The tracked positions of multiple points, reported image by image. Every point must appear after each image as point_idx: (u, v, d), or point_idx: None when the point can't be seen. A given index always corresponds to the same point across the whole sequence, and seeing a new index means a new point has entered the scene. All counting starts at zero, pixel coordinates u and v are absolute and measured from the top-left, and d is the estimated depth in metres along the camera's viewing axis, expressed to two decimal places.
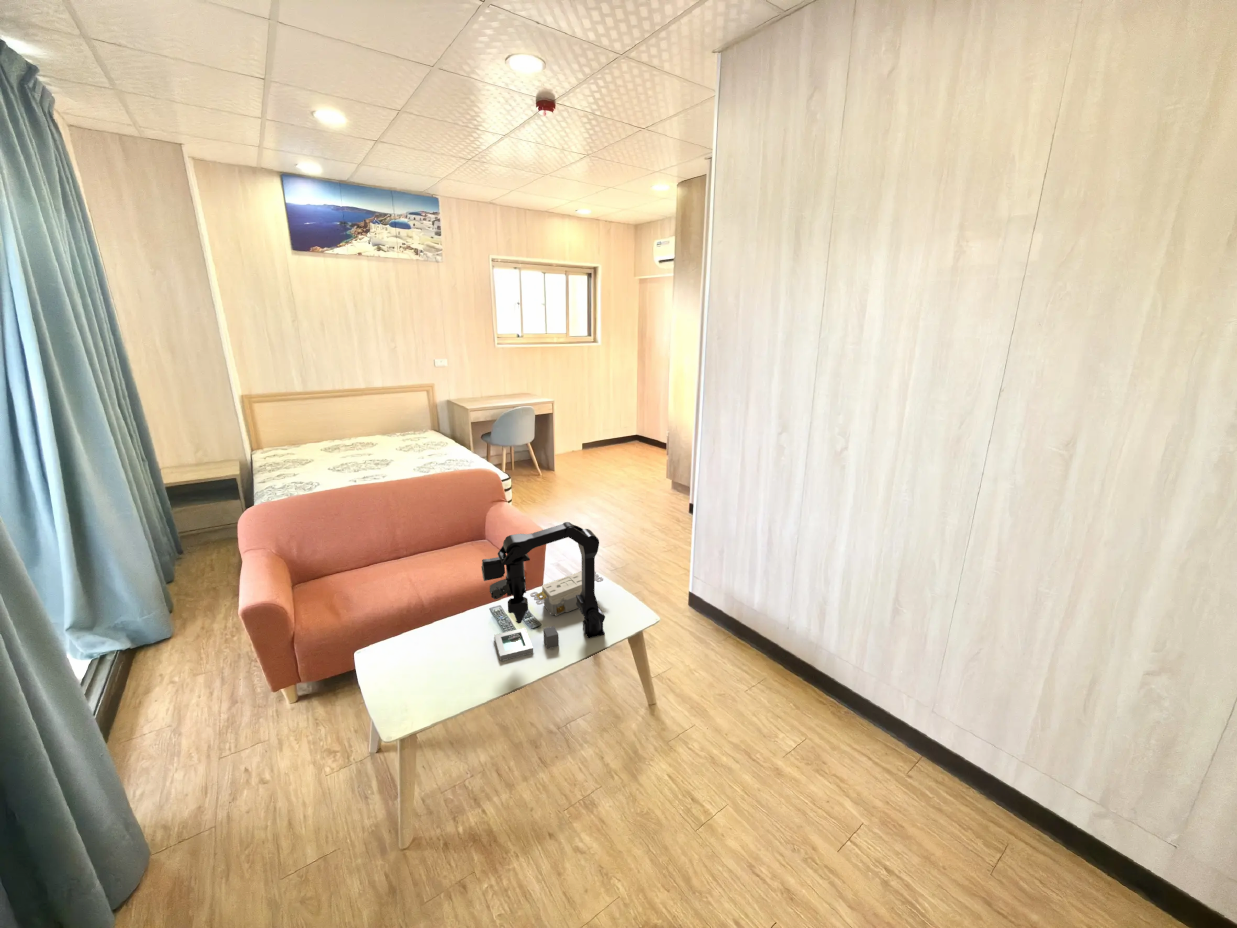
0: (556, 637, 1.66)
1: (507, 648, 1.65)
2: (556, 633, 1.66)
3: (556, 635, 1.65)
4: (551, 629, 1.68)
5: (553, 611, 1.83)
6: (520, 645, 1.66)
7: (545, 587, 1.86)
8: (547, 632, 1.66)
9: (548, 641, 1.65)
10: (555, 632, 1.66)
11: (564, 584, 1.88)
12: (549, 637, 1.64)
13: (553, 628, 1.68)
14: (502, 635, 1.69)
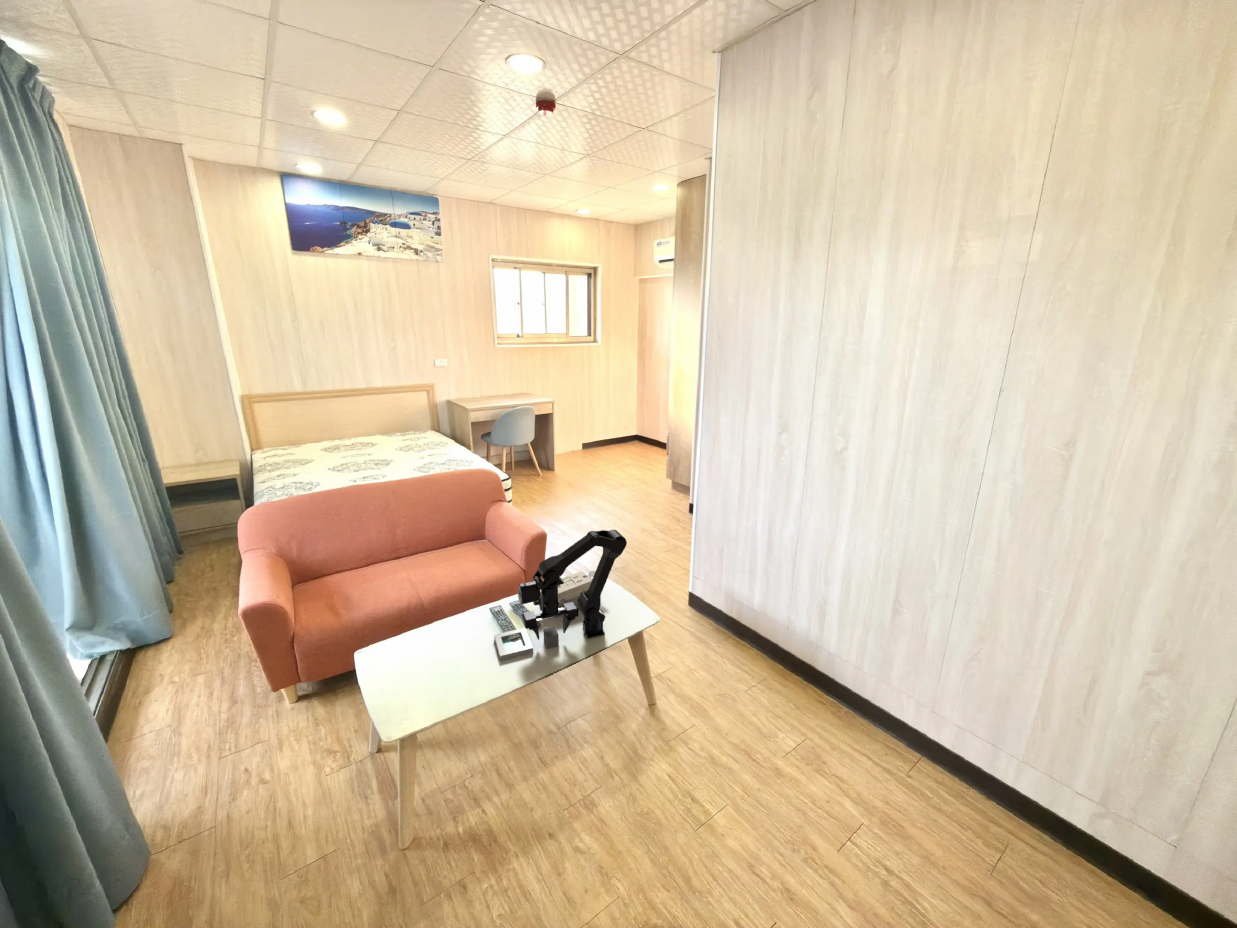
0: (556, 637, 1.66)
1: (507, 648, 1.65)
2: (556, 633, 1.66)
3: (556, 635, 1.65)
4: (551, 629, 1.68)
5: None
6: (520, 645, 1.66)
7: None
8: (547, 632, 1.66)
9: (548, 641, 1.65)
10: (555, 632, 1.66)
11: (564, 584, 1.88)
12: (549, 637, 1.64)
13: (553, 628, 1.68)
14: (502, 635, 1.69)
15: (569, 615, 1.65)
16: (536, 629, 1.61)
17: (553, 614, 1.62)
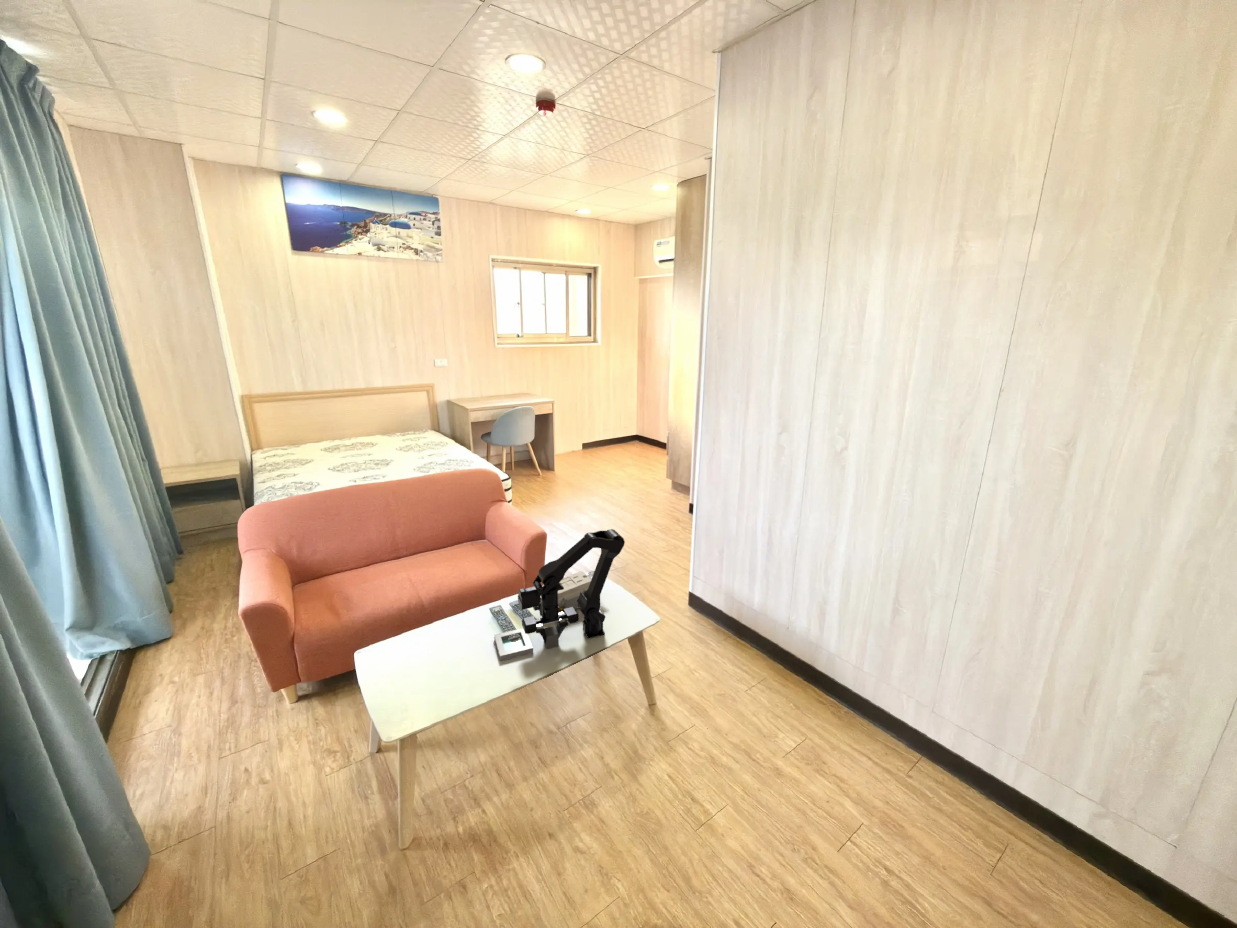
0: (556, 637, 1.66)
1: (507, 648, 1.65)
2: (556, 633, 1.66)
3: (556, 635, 1.65)
4: (551, 628, 1.68)
5: None
6: (520, 645, 1.66)
7: None
8: (547, 632, 1.66)
9: (548, 641, 1.65)
10: (555, 632, 1.66)
11: (564, 584, 1.88)
12: (549, 636, 1.64)
13: (553, 628, 1.68)
14: (502, 635, 1.69)
15: (569, 620, 1.65)
16: (543, 633, 1.63)
17: (553, 619, 1.63)
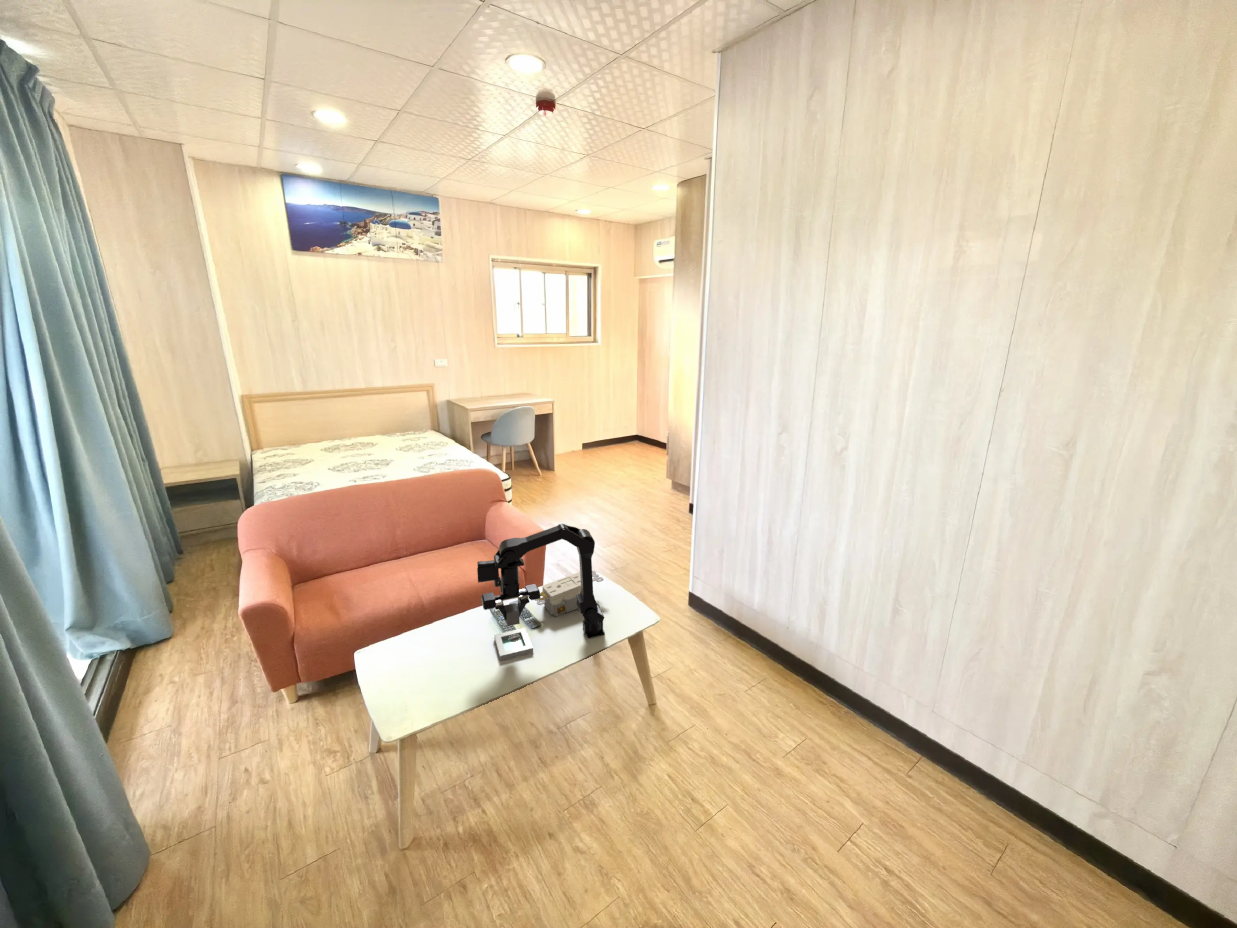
0: (516, 614, 1.61)
1: (507, 648, 1.65)
2: (517, 610, 1.61)
3: (517, 612, 1.61)
4: (512, 605, 1.63)
5: (554, 611, 1.82)
6: (520, 645, 1.66)
7: (545, 587, 1.86)
8: (507, 609, 1.61)
9: (508, 618, 1.60)
10: (516, 609, 1.62)
11: (564, 584, 1.88)
12: (510, 613, 1.60)
13: (514, 605, 1.64)
14: (502, 635, 1.69)
15: (530, 597, 1.60)
16: (503, 609, 1.58)
17: (513, 595, 1.58)
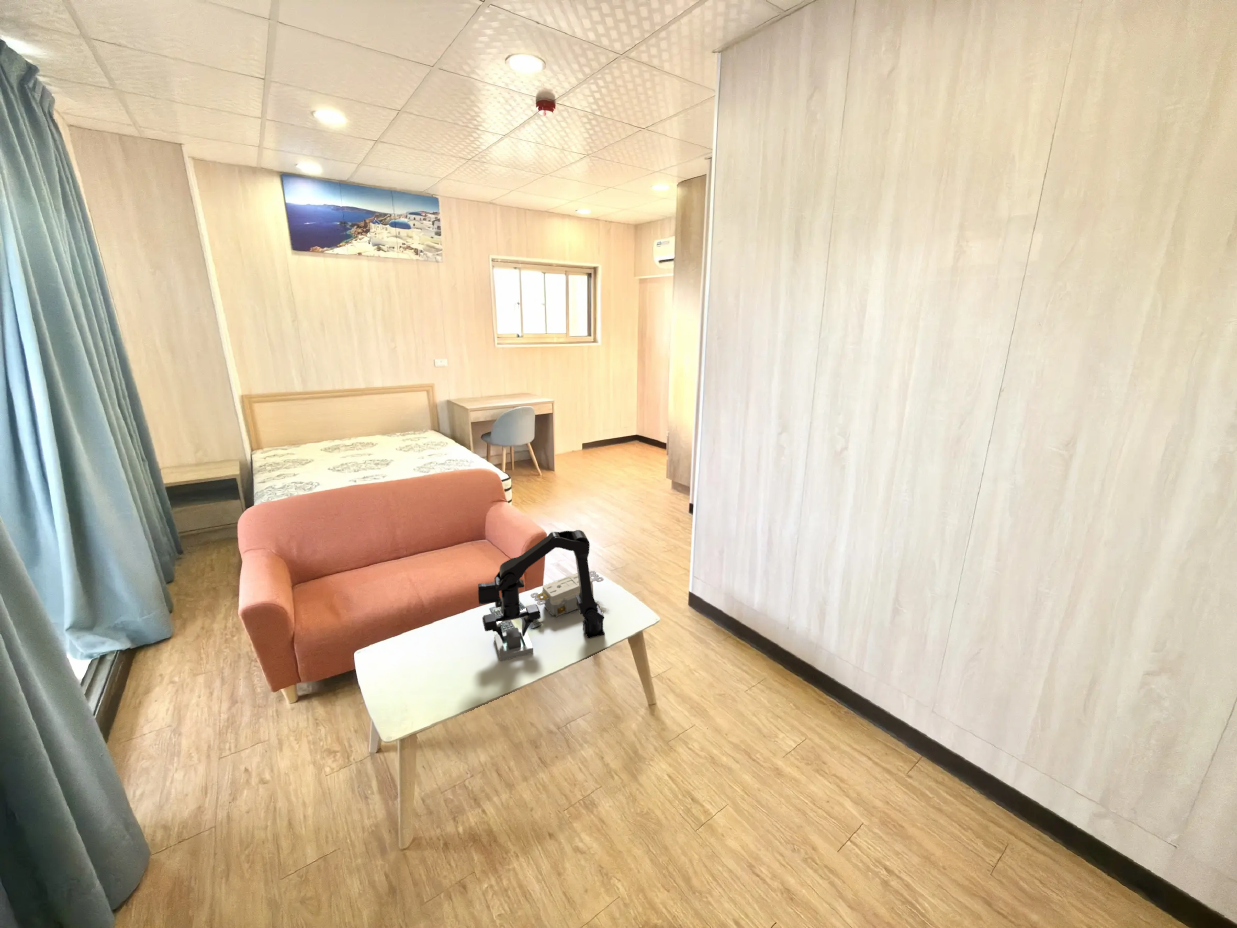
0: (518, 639, 1.64)
1: (507, 648, 1.65)
2: (518, 635, 1.64)
3: (518, 637, 1.64)
4: (513, 630, 1.66)
5: (554, 612, 1.82)
6: None
7: (546, 588, 1.86)
8: (509, 634, 1.64)
9: (510, 643, 1.63)
10: (517, 634, 1.65)
11: (564, 584, 1.88)
12: (511, 639, 1.63)
13: (516, 630, 1.67)
14: None
15: (530, 617, 1.63)
16: (500, 631, 1.60)
17: (514, 616, 1.60)
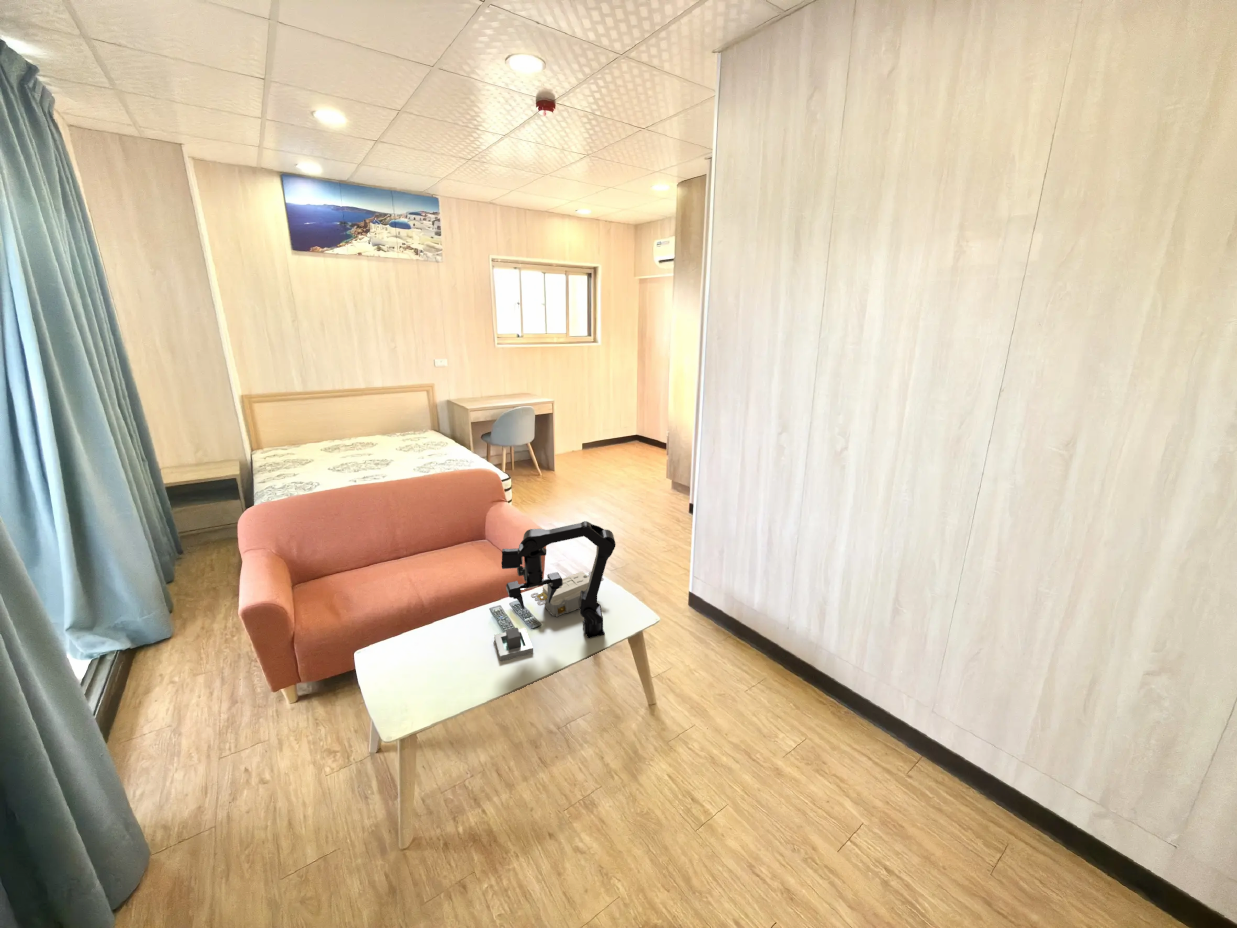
0: (518, 639, 1.64)
1: (507, 648, 1.65)
2: (518, 635, 1.64)
3: (518, 637, 1.64)
4: (513, 630, 1.66)
5: (554, 612, 1.82)
6: None
7: (546, 588, 1.86)
8: (509, 634, 1.64)
9: (510, 643, 1.63)
10: (517, 634, 1.65)
11: (565, 584, 1.88)
12: (511, 639, 1.63)
13: (516, 630, 1.67)
14: (502, 635, 1.69)
15: (553, 584, 1.66)
16: (520, 598, 1.63)
17: (537, 583, 1.64)
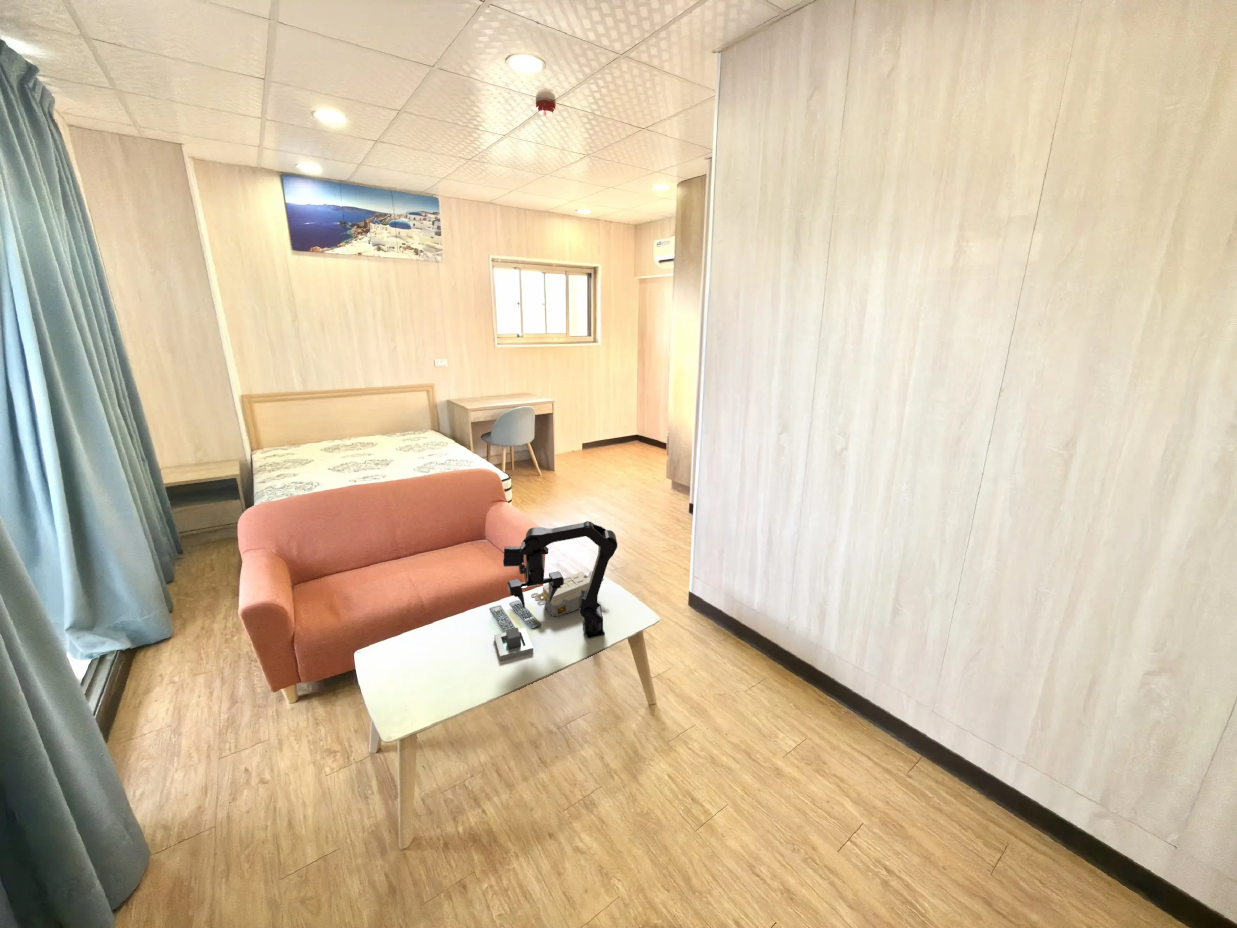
0: (518, 639, 1.64)
1: (507, 648, 1.65)
2: (518, 635, 1.64)
3: (518, 637, 1.64)
4: (513, 630, 1.66)
5: (554, 612, 1.82)
6: None
7: (546, 588, 1.86)
8: (509, 634, 1.64)
9: (510, 643, 1.63)
10: (517, 634, 1.65)
11: (565, 585, 1.88)
12: (511, 639, 1.63)
13: (516, 630, 1.67)
14: (502, 635, 1.69)
15: (554, 583, 1.66)
16: (521, 596, 1.63)
17: (538, 582, 1.64)
